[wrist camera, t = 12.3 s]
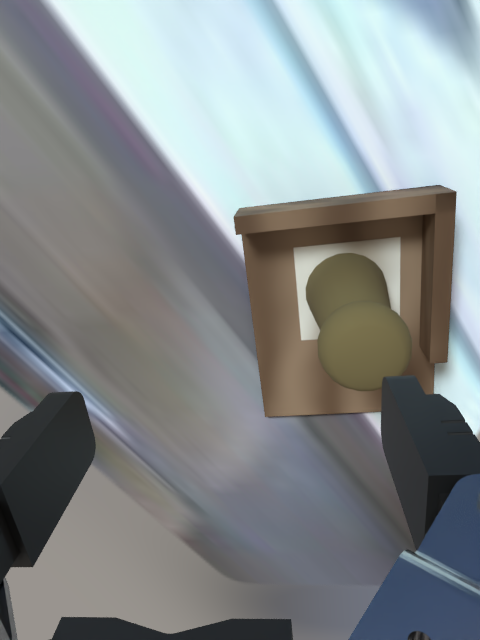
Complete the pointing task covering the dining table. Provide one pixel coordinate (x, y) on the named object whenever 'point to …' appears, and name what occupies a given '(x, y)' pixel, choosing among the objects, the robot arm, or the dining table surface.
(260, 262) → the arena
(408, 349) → the olive double-lobed piece
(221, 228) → the dining table surface
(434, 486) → the robot arm
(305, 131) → the dining table surface
